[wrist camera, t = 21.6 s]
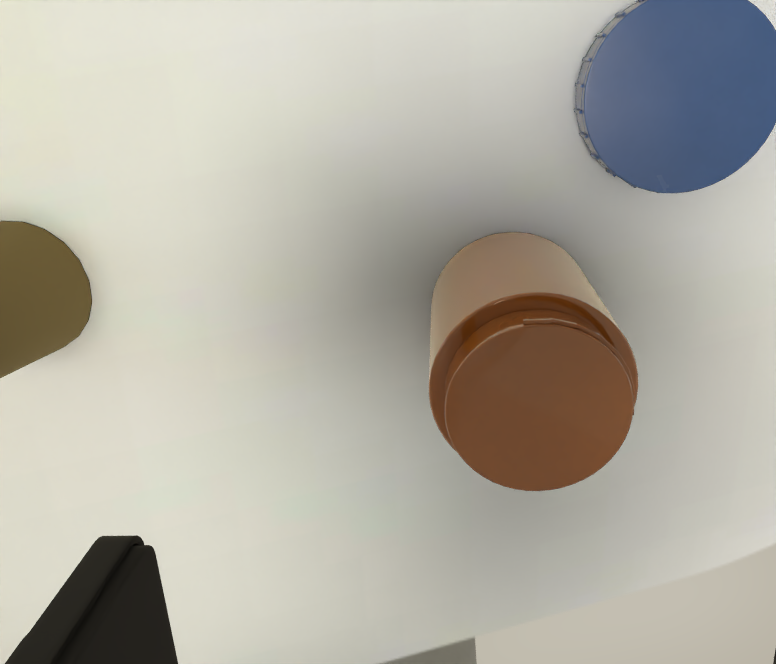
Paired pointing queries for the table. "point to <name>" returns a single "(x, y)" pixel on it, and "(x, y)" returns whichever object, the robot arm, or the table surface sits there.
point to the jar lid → (679, 92)
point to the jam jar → (527, 364)
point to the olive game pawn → (38, 295)
